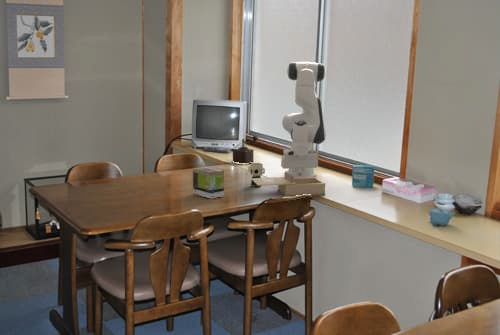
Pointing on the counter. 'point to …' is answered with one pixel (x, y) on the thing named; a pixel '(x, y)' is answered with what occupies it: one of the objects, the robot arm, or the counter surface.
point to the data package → (363, 176)
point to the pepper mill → (244, 152)
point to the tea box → (208, 182)
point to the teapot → (440, 217)
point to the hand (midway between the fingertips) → (299, 175)
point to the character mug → (256, 171)
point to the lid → (275, 180)
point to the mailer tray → (303, 187)
